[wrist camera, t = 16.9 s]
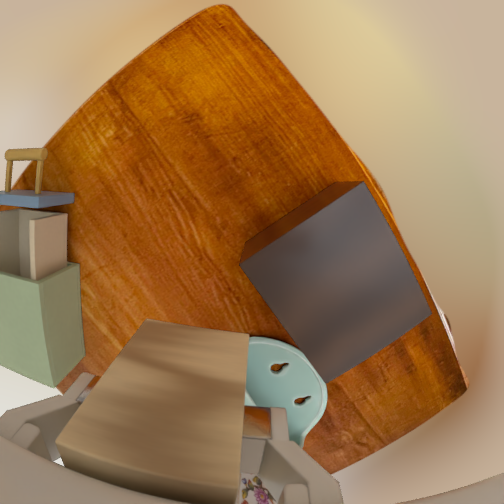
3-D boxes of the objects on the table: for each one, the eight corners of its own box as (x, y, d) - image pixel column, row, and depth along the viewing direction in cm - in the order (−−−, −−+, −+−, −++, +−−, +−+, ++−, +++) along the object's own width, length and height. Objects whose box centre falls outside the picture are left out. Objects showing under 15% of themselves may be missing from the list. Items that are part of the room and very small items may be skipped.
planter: (156, 399, 32) (287, 339, 30) (172, 366, 39) (283, 310, 37) (245, 487, 35) (357, 446, 33) (247, 452, 42) (346, 412, 40)
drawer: (21, 151, 33) (-15, 149, 26) (78, 150, 33) (43, 145, 26) (18, 277, 36) (-14, 292, 29) (73, 291, 36) (42, 311, 29)
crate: (245, 242, 35) (238, 264, 26) (335, 181, 34) (363, 181, 24) (311, 337, 37) (325, 383, 28) (394, 282, 36) (432, 313, 26)
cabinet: (18, 251, 37) (-24, 266, 28) (79, 263, 37) (38, 284, 28) (27, 335, 39) (-7, 361, 30) (85, 355, 39) (54, 388, 30)
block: (148, 397, 13) (90, 521, 6) (146, 317, 12) (53, 440, 5) (238, 412, 13) (225, 553, 6) (249, 333, 12) (238, 487, 5)
